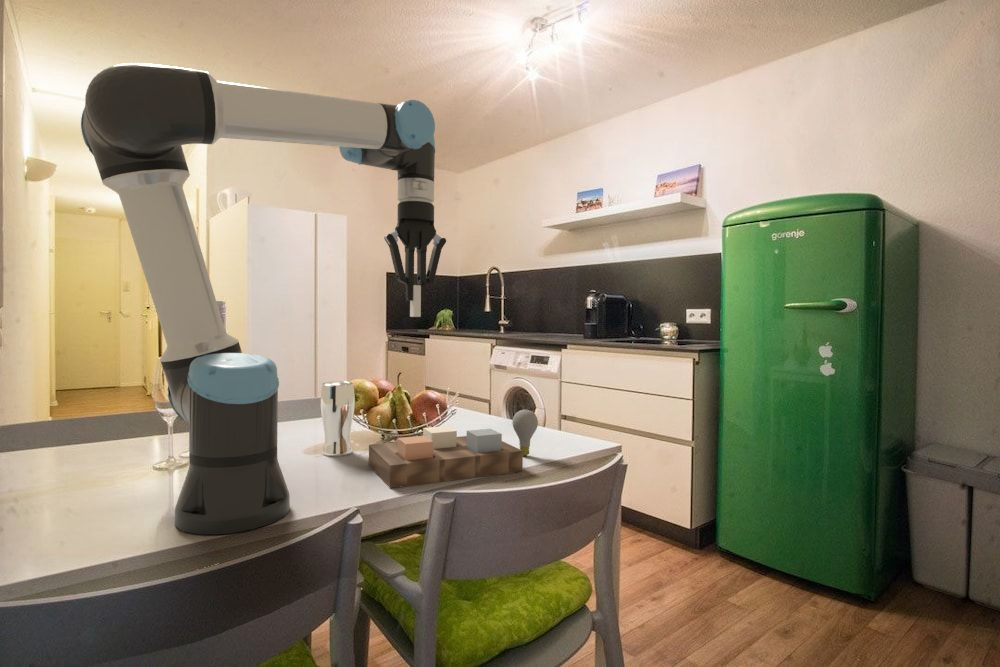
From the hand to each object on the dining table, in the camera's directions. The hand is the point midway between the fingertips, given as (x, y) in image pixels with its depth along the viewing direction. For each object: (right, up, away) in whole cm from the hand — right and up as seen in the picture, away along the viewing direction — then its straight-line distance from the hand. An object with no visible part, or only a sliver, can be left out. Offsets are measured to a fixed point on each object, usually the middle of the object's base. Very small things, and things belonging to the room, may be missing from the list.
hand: (415, 316), depth 113 cm
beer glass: (-17, -29, +3) cm, 34 cm away
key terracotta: (+2, -28, -13) cm, 31 cm away
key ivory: (+6, -28, -5) cm, 29 cm away
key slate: (+14, -28, -7) cm, 32 cm away
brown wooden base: (+7, -30, -7) cm, 31 cm away
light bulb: (+23, -30, +3) cm, 38 cm away
